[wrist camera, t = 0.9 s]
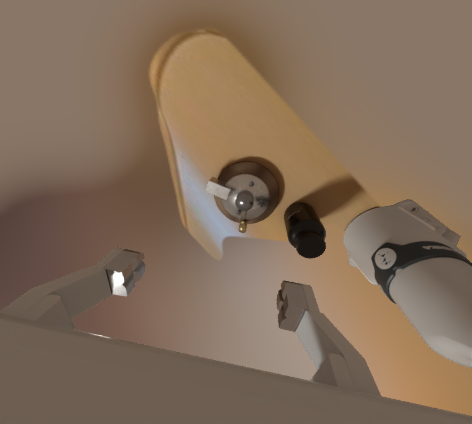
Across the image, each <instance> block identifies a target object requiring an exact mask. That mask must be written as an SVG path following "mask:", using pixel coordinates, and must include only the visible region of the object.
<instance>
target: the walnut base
mask: <svg viewBox="0 0 472 424" xmlns="http://www.w3.org/2000/svg"><path fill="white" fill-rule="evenodd" d="M242 173H249V174H253V175H256V176H258V177H259V178H261V179H262V180H263V181H264V182H265V184H266V185H267V187H268V190H269V196H270V199H269V204H268V207H267V209H266V210H265V211H264V212H263V213H262V214H261V215H260V216H258V217H256V218H253V219H247V220H245V219H239V218H236V217H234V216H232V215H231V214H230V213H229V212H228V211H227V210H226V209H225V207H224V205H223V202H222V198H220V197H218V196H215V195H214V197H215V201H216V204H217V206H218V208H219V210H220V211H221V212H222V213H223V214H224V215H225V216H226V217H227V218H229V219H230V220H233V221H235V222H238V223H240V225H239V231H240V232H241V233H244V232H245V231H246V227H247V224H252V223H257V222H259V221H262V220H264V219H265V218H267V217H268V216H269V215H270V214H271V213H272V212H273V211H274V209H275V207H276V205H277V203H278V198H279V190H278V185H277V182H276V179H275V177H274V176H273V174H272V173H271V172H270V171H269V170H268V169H267V168H265V167H264V166H262V165H260V164H258V163H255V162H248V161H244V162H238V163H235V164H233V165H231V166H229V167H228V168H226V169H225V170H224V171H223V172H222V173H221V175H220V176H219V178H218V179H219V180H222V181H224V182H227V181H228V180H229V179H230V178H232V177H233V176H235V175H238V174H242Z"/></svg>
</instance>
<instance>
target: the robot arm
mask: <svg viewBox="0 0 472 424" xmlns="http://www.w3.org/2000/svg"><path fill="white" fill-rule="evenodd" d="M412 208H413V209H412ZM411 209H412V210H411ZM459 238H460V236H459V235H458V234H456V233H455V232H453V231H451V230H450V229H448V228H447V227H446V226H445V225H444V224H442V223H441V222H440V221H438V220H437V219H436V218H435V217H433V216H432V215H431V214H429V213H428V212H427V211H426V210H424V209H423V208H422V207H421V206H419V205H418V204H417V203H415V202H414V201H412V200H404V201H401V202H399V203H397V204H395V205H391V206H385V207H378V208H374V209H371V210H369V211H366V212H364V213H363V214H361V215H359V216H358V217H357V218H355V219H354V220H353V221H352V222H351V223H350V224H349V226H348V227H347V229H346V231H345V233H344V238H343V240H344V241H343V242H344V246H345V249H346V250H347V252H348V262H349V264H350V265H351V266H353V267H357V268H359V269H360V271H361V272H362V273H363V274H364V276H365V277H366V278H367V279H368V280H369V281H370V282H371V283H372V284H376V285H379V286H380V288H381V290H382V291H383V293H384V294H385V295H386V296H387V297H388V298H389V299H390V300H391V301H392V302H393V303H395V304H397V306H398V307H399V308H400V310H401V311H402V312H403V314H404V315H405V316H406V318H407V319H408V320H409V322H410V323H411V324H412V326H413V327H414V328H415V329H416V331H417V332H418V334H419V335H420V336H421V338H422V339H423V340H424V341H425V343H426V344H427V345H428V346H429V347H430V348H431V349H433V350H434V351H435V352H437V353H438V354H440V355H441V356H443V357H445V358H447V359H449V360H451V361H453V362H455V363H458V364H460V365H463V366H466V367H469V368H472V263H471V262H470V261H469V260H468V259H467V258H466V254H465V253H464V252H463V251H462V250H460V249H459V248H457V247H456V245H457V243H458V241H459ZM143 259H144V254H143V253H141V252H136V251H132V250H128V249H122V248H114V249H113V250H112V251H111V252H110V253H109V254H107V255H106V256H105V257H104V258H103V259H102V260H101V261H99V262H98V263H97V264H96V265H95V266H94V267H92V266H90V267H87V268H85V269H82V270H79V271H77V272H74V273H72V274H69V275H66V276H64V277H61V278H58V279H56V280H53V281H51V282H48V283H45V284H43V285H40V286H37V287H35V288H32V289H30V290H29V291H28V292H26V293H25V294H23V295H22V296H21V297H19V298H18V299H16V300H15V301H14V302H12V303H11V304H10V305H8V306H7V307H6V308H4V309H3V310H1V311H0V424H472V416H469V415H465V414H460V413H455V412H450V411H446V410H442V409H437V408H432V407H428V406H423V405H418V404H414V403H409V402H405V401H400V400H396V399H391V398H386V397H382V396H381V395H380V392H379V390H378V388H377V386H376V384H375V381H374V379H373V376H372V374H371V372H370V370H369V367H368V366H367V363H366V361H365V359H364V358H363V357H362V356H361V355H360V354H359V352H358V351H357V350H356V349H355V348H354V347H353V346H352V345H351V344H350V343H349V341H348V340H346V338H345V337H344V336H343V335H342V334H341V333H340V332H339V331H338V330H337V328H336V327H335V326H334V325H333V324H332V323H331V322H330V321H329V320H328V319H327V318H326V316H325V315H324V314H323V313H320V311H319V308H318V305H317V302H316V299H315V296H314V293H313V290H312V287H311V286H310V285H304V284H299V283H294V282H289V281H283V282H282V284H281V290H279V292H278V295H277V309H278V310H279V314H278V323H279V328H281V329H285V330H289V331H293V332H295V334H296V336H297V337H298V339H299V340H300V342H301V344H302V346H303V347H304V349H305V351H306V352H307V354H308V355H309V357H310V359H311V361H312V362H313V364H314V365H315V367H316V369H317V372H316V374H315V375H314V376H313V378H312V379H311V380H310V381H308V380H303V379H299V378H294V377H290V376H285V375H281V374H276V373H271V372H267V371H262V370H257V369H253V368H248V367H244V366H239V365H234V364H230V363H225V362H220V361H216V360H212V359H207V358H202V357H198V356H193V355H189V354H184V353H180V352H175V351H170V350H166V349H161V348H157V347H152V346H147V345H143V344H138V343H134V342H129V341H124V340H120V339H115V338H110V337H106V336H101V335H97V334H92V333H88V332H83V331H78V330H74V325H73V323H72V321H71V320H72V319H73V318H75V317H77V316H78V315H80V314H81V313H83V312H85V311H86V310H88V309H90V308H91V307H93V306H94V305H96V304H98V303H99V302H101V301H102V300H104V299H106V298H107V297H109V296H110V295H112V294H116V295H122V296H128V294H129V293H130V292H131V291H132V289H133V288H134V287H135V282H137V281H139V280H140V279H141V278H142V276H143V274H144V272H145V263H144V262H143V261H142V260H143Z"/></svg>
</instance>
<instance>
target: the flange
mask: <svg viewBox="0 0 472 424" xmlns="http://www.w3.org/2000/svg"><path fill="white" fill-rule="evenodd" d="M206 192H208V193H210V194H213V195H215V196H218V197H220V198H222V202H223V205H224V207H225V209H226V210H227V211H228V212H229V213H230V214H231V215H232V216H234V217H236V218H239V219H245V220H247V219H253V218H256V217H258V216H260V215H261V214H262V213H263V212H264V211H265V210H266V209H267V207H268V204H269V199H270V196H269V190H268V187H267V185H266V184H265V182H264V181H263V180H262V179H261V178H259V177H258V176H256V175H253V174H249V173H242V174H238V175H235V176H233V177H232V178H230V179H229V180H228V181H227V182H224V181H222V180H219V179H217V178H215V177H212V178H211V179H210V180H209V182H208V185H207V188H206Z"/></svg>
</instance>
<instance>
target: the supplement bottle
mask: <svg viewBox="0 0 472 424" xmlns="http://www.w3.org/2000/svg"><path fill="white" fill-rule="evenodd" d="M284 221H285V226H286V231H287V236H288V239H289V242H290V243H291V245H292V246H294V247H295V248H296V249H297V251H298V253H299V254H300V255H301V256H303V257H305V258H316V257H318V256H320V255H322V253H323V252H324V251H325V249H326V243H325V241H324V240H325V237H326V231H325V228H324V226H323V224H322V223H321V221H320V219H319V217H318V216H317V214H316V212H315V210H314V209H313V208H312V206H310V205H309V204H307V203H301V202H300V203H295V204H292V205H291V206H289V207H288V208H287V209H286V211H285V214H284Z"/></svg>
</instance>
